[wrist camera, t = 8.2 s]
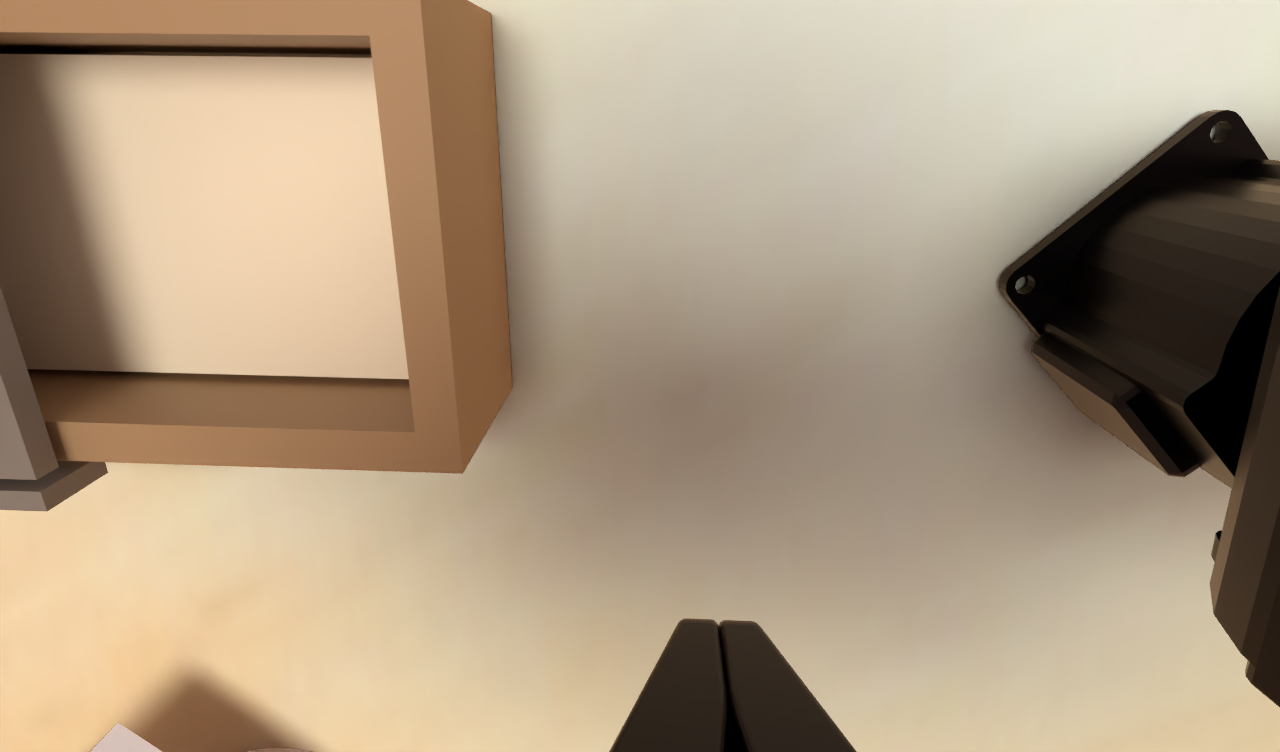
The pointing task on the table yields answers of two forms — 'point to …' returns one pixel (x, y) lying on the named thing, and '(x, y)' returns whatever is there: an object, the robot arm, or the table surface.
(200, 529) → the table surface
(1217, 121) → the robot arm
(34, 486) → the lid
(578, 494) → the table surface
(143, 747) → the wedge on round base
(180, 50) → the base
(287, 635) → the table surface
